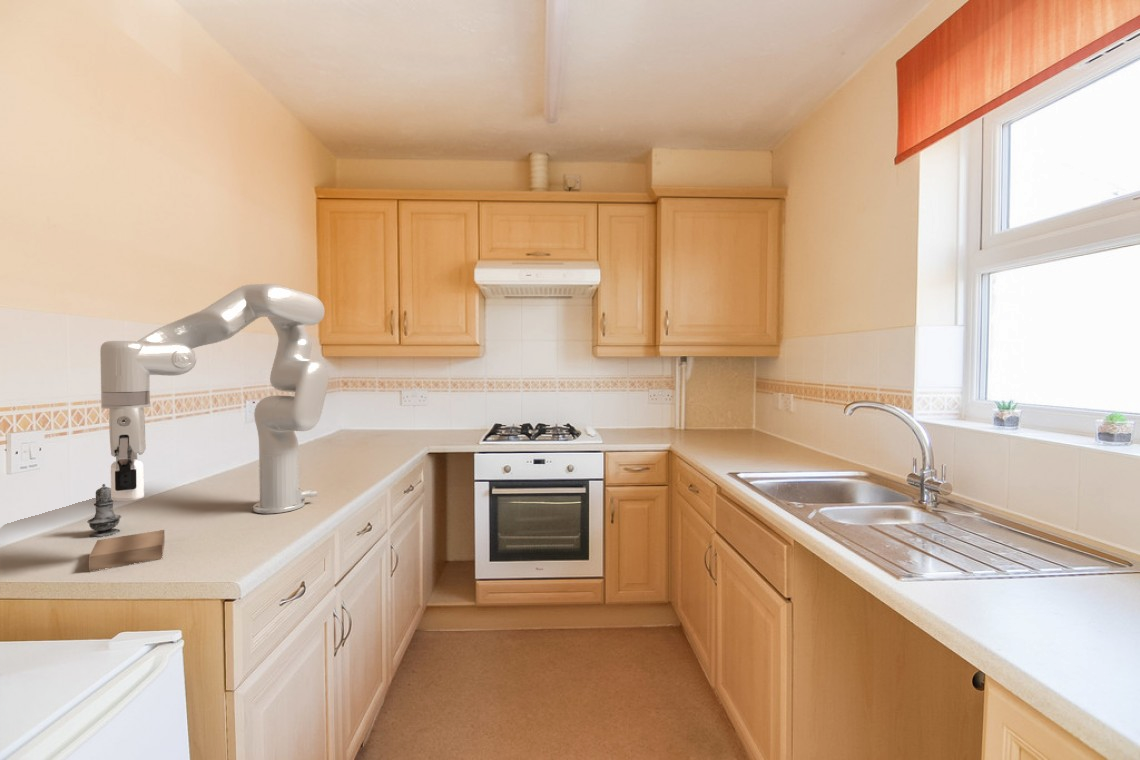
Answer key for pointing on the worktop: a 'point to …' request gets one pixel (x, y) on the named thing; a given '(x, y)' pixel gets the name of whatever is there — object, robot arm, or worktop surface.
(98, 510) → the salt shaker
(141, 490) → the eye dropper bottle
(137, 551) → the walnut stand
